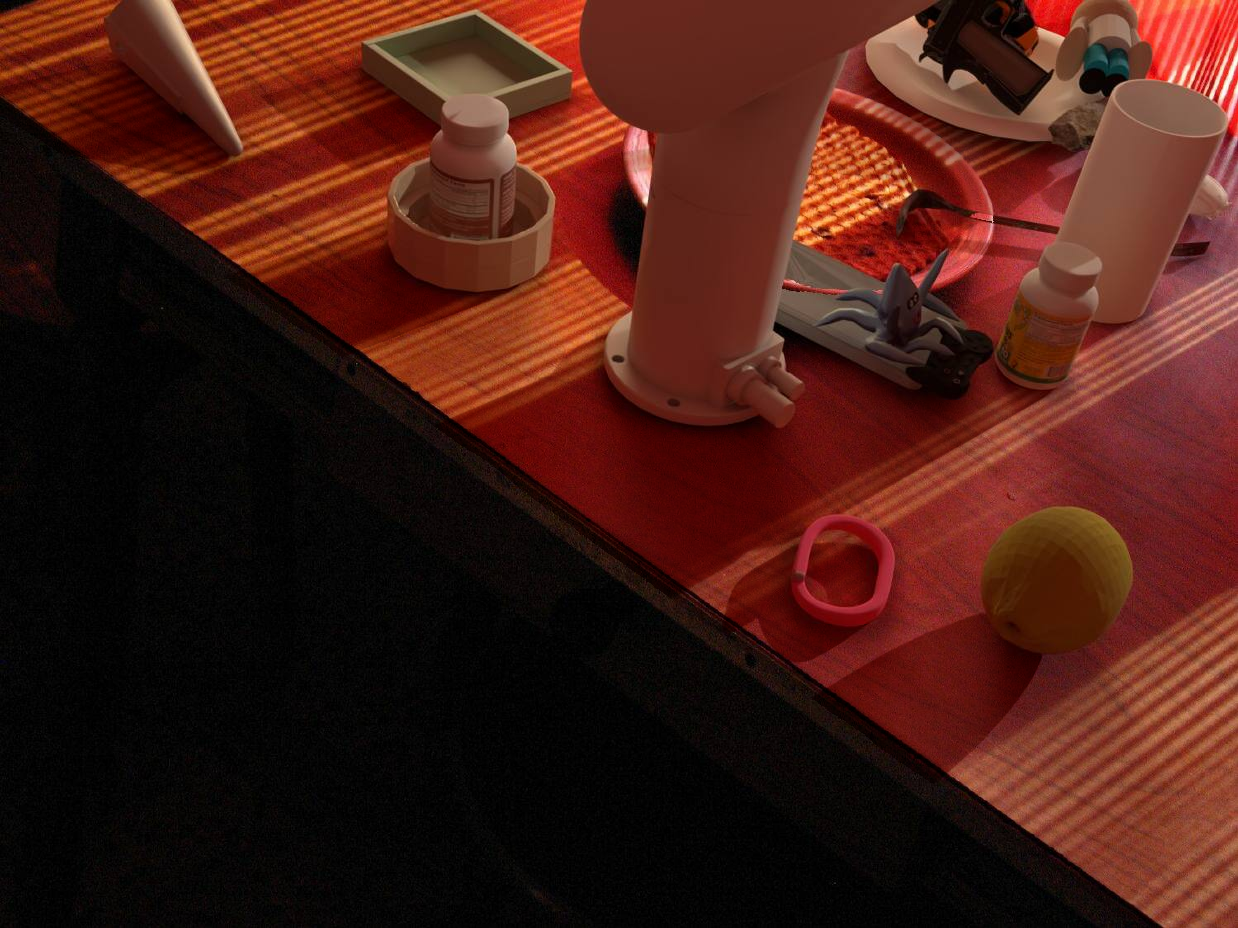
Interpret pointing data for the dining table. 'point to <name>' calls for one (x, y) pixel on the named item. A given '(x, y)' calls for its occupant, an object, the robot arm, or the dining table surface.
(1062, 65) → the toy
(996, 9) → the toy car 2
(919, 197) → the crowbar
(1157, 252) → the cup
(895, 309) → the figurine
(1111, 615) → the lemon
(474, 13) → the tray
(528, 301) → the dining table surface
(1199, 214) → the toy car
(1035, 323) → the supplement bottle
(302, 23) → the dining table surface
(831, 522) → the fitness band
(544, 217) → the bowl
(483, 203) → the pill bottle
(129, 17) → the long tapered cone
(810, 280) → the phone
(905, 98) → the plate
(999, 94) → the handgun
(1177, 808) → the dining table surface
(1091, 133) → the stone
